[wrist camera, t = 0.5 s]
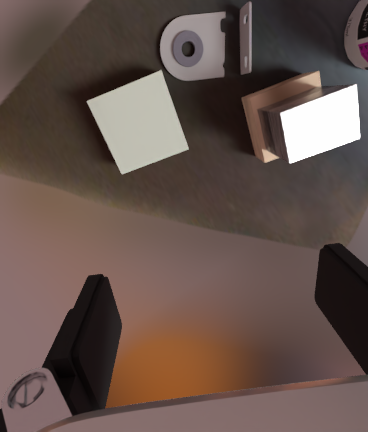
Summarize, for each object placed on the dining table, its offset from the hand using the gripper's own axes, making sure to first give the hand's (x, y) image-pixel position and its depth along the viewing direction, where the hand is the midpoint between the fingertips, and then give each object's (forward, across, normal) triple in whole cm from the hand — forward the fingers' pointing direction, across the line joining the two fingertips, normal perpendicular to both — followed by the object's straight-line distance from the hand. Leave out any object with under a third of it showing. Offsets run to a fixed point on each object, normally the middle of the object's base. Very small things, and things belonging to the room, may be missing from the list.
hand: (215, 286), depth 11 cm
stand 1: (+27, +5, -5) cm, 28 cm away
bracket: (+28, -4, -12) cm, 31 cm away
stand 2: (+27, -13, -4) cm, 30 cm away
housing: (+23, -13, -4) cm, 27 cm away
